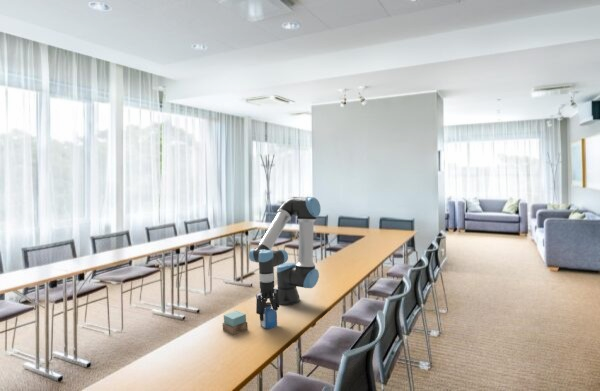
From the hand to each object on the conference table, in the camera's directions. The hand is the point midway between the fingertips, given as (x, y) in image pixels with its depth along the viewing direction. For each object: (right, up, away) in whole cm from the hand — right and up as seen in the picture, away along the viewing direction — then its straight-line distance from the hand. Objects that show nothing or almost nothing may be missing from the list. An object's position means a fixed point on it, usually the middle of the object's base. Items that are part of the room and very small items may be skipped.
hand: (268, 324), depth 190 cm
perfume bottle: (0, -1, 0) cm, 1 cm away
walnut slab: (-17, -2, -3) cm, 17 cm away
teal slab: (-17, +2, -3) cm, 17 cm away
